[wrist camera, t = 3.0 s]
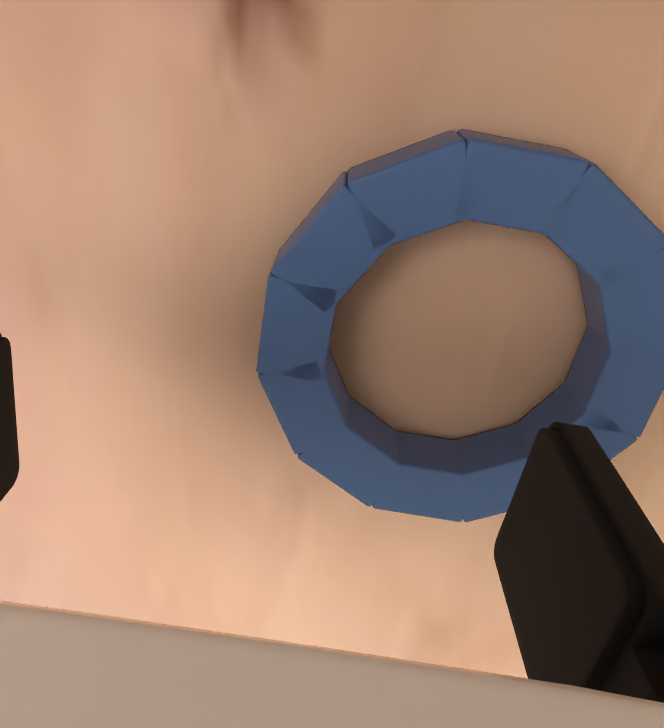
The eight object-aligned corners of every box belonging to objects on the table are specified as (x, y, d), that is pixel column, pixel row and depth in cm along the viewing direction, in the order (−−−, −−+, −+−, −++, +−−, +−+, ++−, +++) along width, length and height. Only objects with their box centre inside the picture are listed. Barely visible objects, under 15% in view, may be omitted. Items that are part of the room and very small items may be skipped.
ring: (297, 97, 13) (290, 103, 12) (719, 177, 14) (761, 193, 12) (250, 452, 18) (240, 488, 16) (570, 504, 18) (588, 543, 17)
